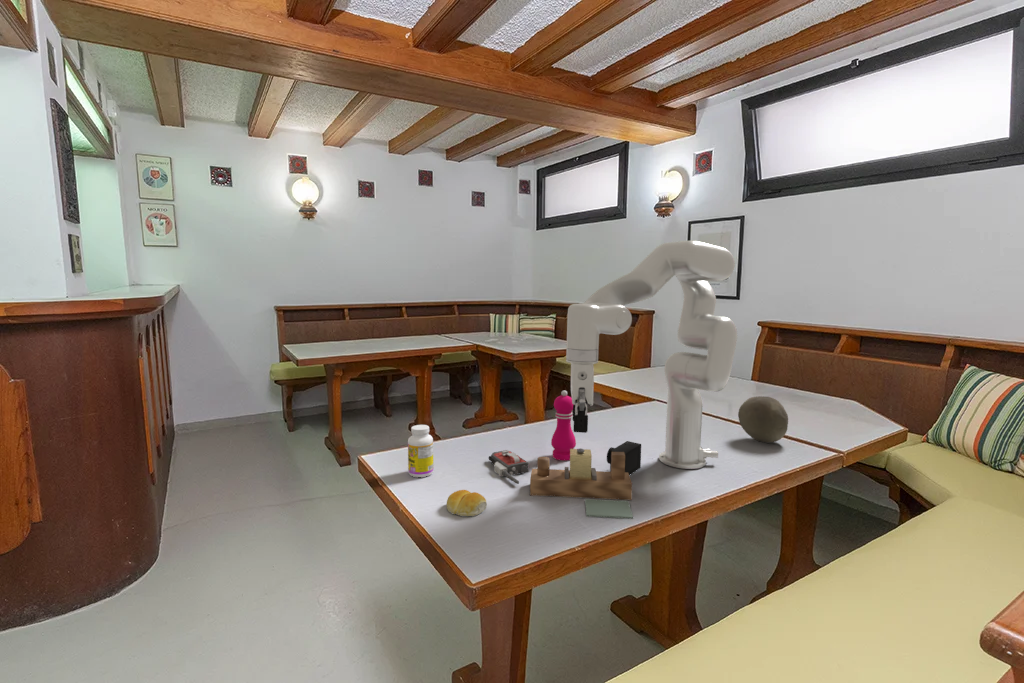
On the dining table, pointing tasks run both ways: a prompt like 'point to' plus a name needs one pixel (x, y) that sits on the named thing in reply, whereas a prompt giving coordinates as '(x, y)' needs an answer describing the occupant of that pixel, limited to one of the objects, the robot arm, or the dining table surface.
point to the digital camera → (628, 455)
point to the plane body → (582, 481)
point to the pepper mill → (563, 428)
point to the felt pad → (608, 508)
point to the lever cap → (580, 464)
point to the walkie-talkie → (508, 464)
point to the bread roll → (466, 503)
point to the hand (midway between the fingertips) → (579, 426)
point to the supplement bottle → (420, 452)
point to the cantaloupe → (763, 419)
